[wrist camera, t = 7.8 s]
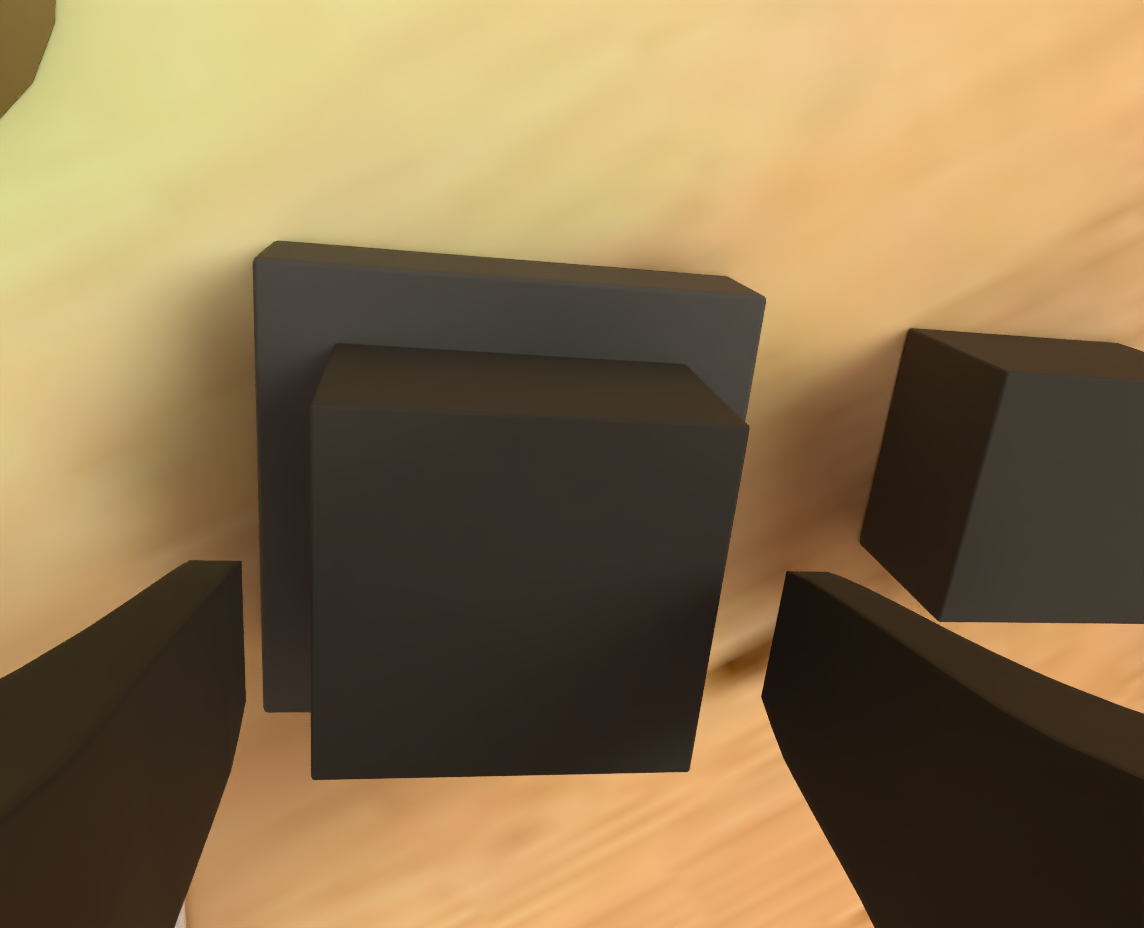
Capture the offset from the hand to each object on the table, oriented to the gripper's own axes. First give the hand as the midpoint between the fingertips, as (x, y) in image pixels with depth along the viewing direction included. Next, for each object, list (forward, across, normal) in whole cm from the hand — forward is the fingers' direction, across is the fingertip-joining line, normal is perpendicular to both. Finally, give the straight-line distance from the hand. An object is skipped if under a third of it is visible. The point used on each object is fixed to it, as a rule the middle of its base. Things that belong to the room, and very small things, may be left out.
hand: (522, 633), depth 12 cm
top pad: (+6, -10, -1) cm, 12 cm away
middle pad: (+4, 0, 0) cm, 4 cm away
